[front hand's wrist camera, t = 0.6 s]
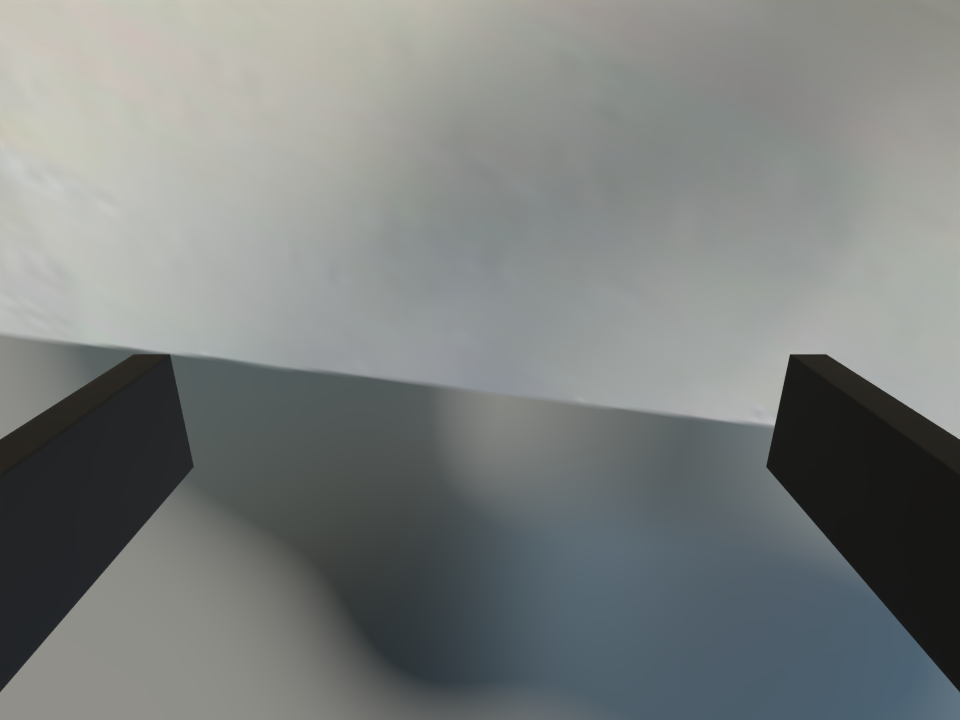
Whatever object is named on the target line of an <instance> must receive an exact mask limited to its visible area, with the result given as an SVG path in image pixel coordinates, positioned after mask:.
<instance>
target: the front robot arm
mask: <svg viewBox="0 0 960 720" xmlns="http://www.w3.org/2000/svg"><path fill="white" fill-rule="evenodd" d="M193 467H194V466H193V461H192V457H191V452H190V447H189V442H188V438H187V433H186V428H185V423H184V419H183V414H182V409H181V405H180V400H179V395H178V390H177V386H176V381H175V376H174V371H173V367H172V362H171V357H170V354H134V355H132V356H131V357H129V358H127V359H126V360H124V361H123V362H121V363H120V364H118V365H116V366H115V367H113V368H112V369H110V370H109V371H107V372H105V373H104V374H102V375H101V376H99V377H98V378H96V379H95V380H93V381H91V382H90V383H88V384H87V385H85V386H84V387H82V388H80V389H79V390H77V391H76V392H74V393H73V394H71V395H69V396H68V397H66V398H65V399H63V400H62V401H60V402H59V403H57V404H55V405H54V406H52V407H51V408H49V409H47V410H46V411H44V412H43V413H41V414H40V415H38V416H36V417H35V418H33V419H32V420H30V421H29V422H27V423H26V424H24V425H23V426H21V427H19V428H18V429H16V430H15V431H13V432H11V433H10V434H8V435H7V436H5V437H4V438H2V439H0V692H1V690H2V689H3V688H4V687H5V686H6V685H7V684H8V682H9V681H10V680H11V679H12V678H13V676H14V675H15V674H16V673H17V672H18V671H19V670H20V668H21V667H22V666H23V665H24V664H25V663H26V661H27V660H28V659H29V658H30V657H31V656H32V654H33V653H34V652H35V651H36V650H37V649H38V647H39V646H40V645H41V644H42V643H43V642H44V640H45V639H46V638H47V637H48V636H49V635H50V633H51V632H52V631H53V630H54V629H55V628H56V626H57V625H58V624H59V623H60V622H61V621H62V620H63V618H64V617H65V616H66V615H67V614H68V613H69V611H70V610H71V609H72V608H73V607H74V606H75V604H76V603H77V602H78V601H79V600H80V599H81V597H82V596H83V595H84V594H85V593H86V592H87V590H88V589H89V588H90V587H91V586H92V585H93V583H94V582H95V581H96V580H97V579H98V578H99V576H100V575H101V574H102V573H103V572H104V571H105V569H106V568H107V567H108V566H109V565H110V564H111V562H112V561H113V560H114V559H115V558H116V557H117V555H118V554H119V553H120V552H121V551H122V550H123V549H124V547H125V546H126V545H127V544H128V543H129V542H130V540H131V539H132V538H133V537H134V536H135V535H136V533H137V532H138V531H139V530H140V529H141V527H142V526H143V525H144V524H145V523H146V522H147V521H148V519H149V518H150V517H151V516H152V515H153V514H154V512H155V511H156V510H157V509H158V508H159V507H160V505H161V504H162V503H163V502H164V501H165V500H166V498H167V497H168V496H169V495H170V494H171V493H172V491H173V490H174V489H175V488H176V487H177V486H178V484H179V483H180V482H181V481H182V480H183V479H184V478H185V476H186V475H187V474H188V473H189V472H190V470H191V469H192V468H193ZM766 467H767V468H768V469H769V471H770V472H771V473H772V474H773V475H774V476H775V478H776V479H777V480H778V481H779V482H780V483H781V484H782V486H783V487H784V488H785V489H786V490H787V491H788V493H789V494H790V495H791V496H792V497H793V498H794V500H795V501H796V502H797V503H798V504H799V505H800V507H801V508H802V509H803V510H804V511H805V512H806V514H807V515H808V516H809V517H810V518H811V519H812V521H813V522H814V523H815V524H816V525H817V526H818V528H819V529H820V530H821V531H822V532H823V533H824V534H825V536H826V537H827V538H828V539H829V540H830V541H831V543H832V544H833V545H834V546H835V547H836V548H837V550H838V551H839V552H840V553H841V554H842V555H843V557H844V558H845V559H846V560H847V561H848V562H849V564H850V565H851V566H852V567H853V568H854V569H855V571H856V572H857V573H858V574H859V575H860V576H861V578H862V579H863V580H864V581H865V582H866V583H867V585H868V586H869V587H870V588H871V589H872V590H873V591H874V593H875V594H876V595H877V596H878V597H879V599H880V600H881V601H882V602H883V603H884V604H885V606H886V607H887V608H888V609H889V610H890V611H891V612H892V614H893V615H894V616H895V617H896V618H897V620H898V621H899V622H900V623H901V624H902V625H903V626H904V628H905V629H906V630H907V631H908V632H909V633H910V635H911V636H912V637H913V638H914V639H915V640H916V642H917V643H918V644H919V645H920V646H921V647H922V649H923V650H924V651H925V652H926V653H927V654H928V656H929V657H930V658H931V659H932V660H933V661H934V663H935V664H936V665H937V666H938V667H939V668H940V670H941V671H942V672H943V673H944V674H945V675H946V676H947V678H948V679H949V680H950V681H951V682H952V684H953V685H954V686H955V687H956V688H957V689H958V691H959V692H960V439H958V438H956V437H955V436H953V435H952V434H950V433H949V432H947V431H945V430H944V429H942V428H941V427H939V426H938V425H936V424H934V423H933V422H931V421H930V420H928V419H927V418H925V417H924V416H922V415H920V414H919V413H917V412H916V411H914V410H913V409H911V408H909V407H908V406H906V405H905V404H903V403H902V402H900V401H898V400H897V399H895V398H894V397H892V396H891V395H889V394H887V393H886V392H884V391H883V390H881V389H880V388H878V387H876V386H875V385H873V384H872V383H870V382H869V381H867V380H866V379H864V378H862V377H861V376H859V375H858V374H856V373H855V372H853V371H851V370H850V369H848V368H847V367H845V366H844V365H842V364H840V363H839V362H837V361H836V360H834V359H833V358H831V357H829V356H828V355H826V354H790V357H789V362H788V367H787V371H786V376H785V381H784V386H783V390H782V395H781V400H780V404H779V409H778V414H777V419H776V423H775V428H774V433H773V438H772V442H771V447H770V452H769V456H768V461H767V466H766Z"/></svg>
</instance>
